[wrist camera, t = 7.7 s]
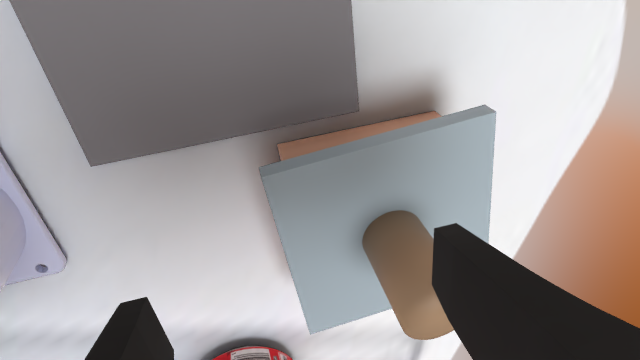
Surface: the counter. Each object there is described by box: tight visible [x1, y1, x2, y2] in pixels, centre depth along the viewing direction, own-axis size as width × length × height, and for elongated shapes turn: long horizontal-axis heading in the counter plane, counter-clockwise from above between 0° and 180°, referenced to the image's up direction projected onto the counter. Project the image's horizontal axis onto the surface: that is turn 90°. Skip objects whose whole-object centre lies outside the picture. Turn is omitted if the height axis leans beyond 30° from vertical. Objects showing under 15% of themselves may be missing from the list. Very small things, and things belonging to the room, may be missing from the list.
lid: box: [259, 105, 496, 340], centre depth 17 cm, size 10×10×5 cm
